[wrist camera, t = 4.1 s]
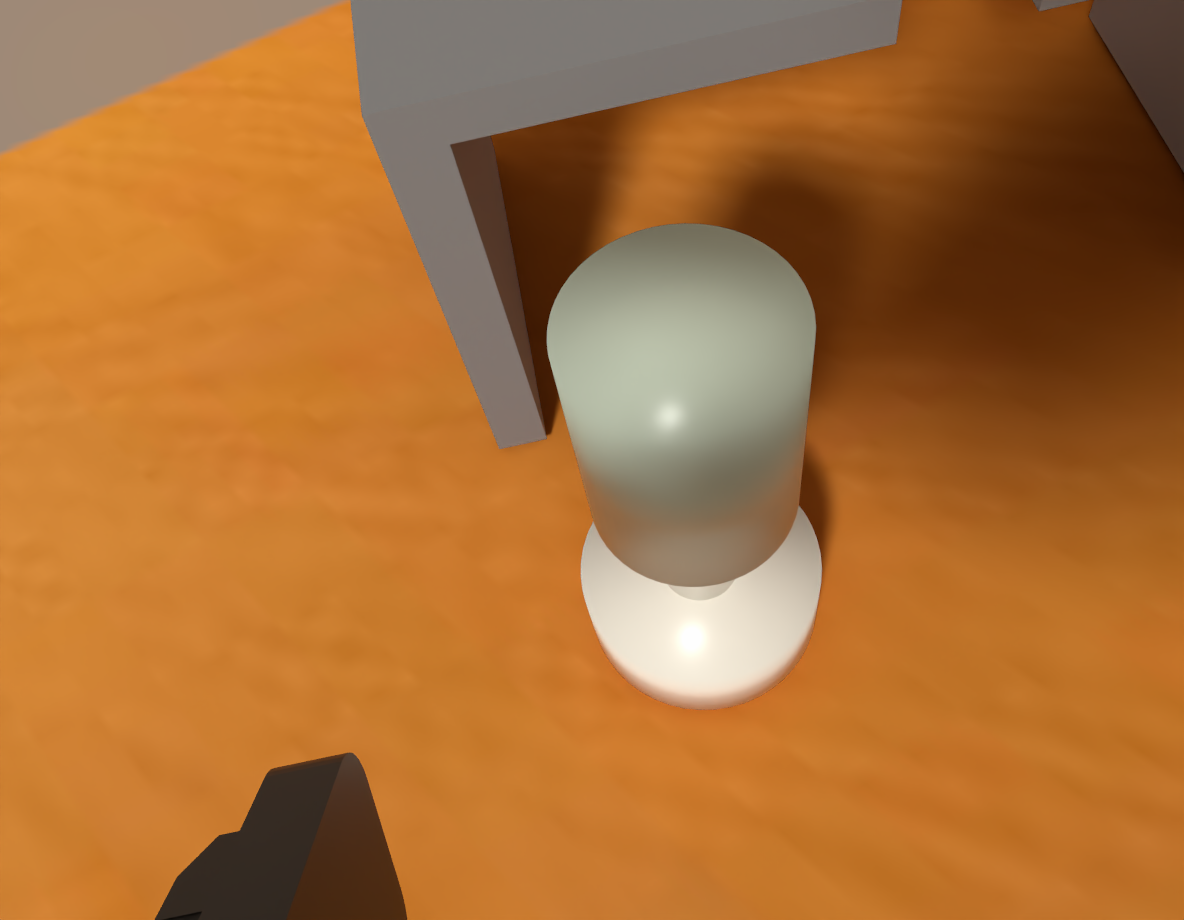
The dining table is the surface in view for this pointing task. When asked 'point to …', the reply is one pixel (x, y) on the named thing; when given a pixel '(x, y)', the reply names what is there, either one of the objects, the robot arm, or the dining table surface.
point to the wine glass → (692, 458)
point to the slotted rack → (597, 82)
